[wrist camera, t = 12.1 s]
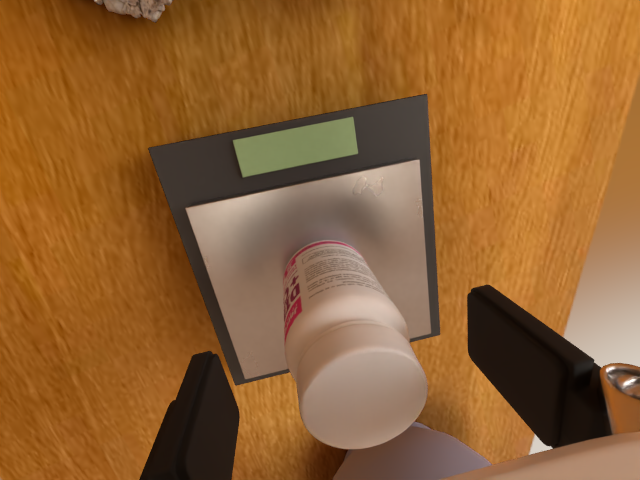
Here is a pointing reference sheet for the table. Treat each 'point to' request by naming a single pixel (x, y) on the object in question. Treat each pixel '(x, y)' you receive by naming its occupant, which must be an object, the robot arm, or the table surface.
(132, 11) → the mineral specimen
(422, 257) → the scale pan
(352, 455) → the bowl
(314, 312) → the pill bottle
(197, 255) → the scale
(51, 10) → the table surface
